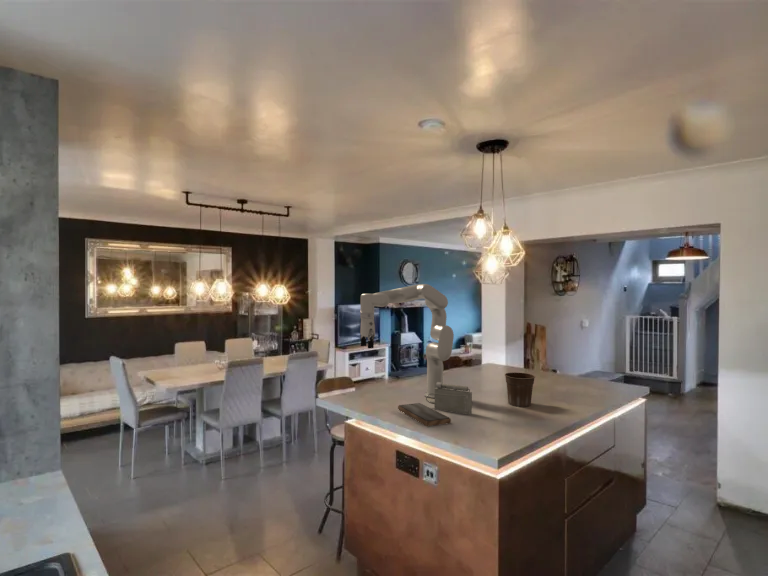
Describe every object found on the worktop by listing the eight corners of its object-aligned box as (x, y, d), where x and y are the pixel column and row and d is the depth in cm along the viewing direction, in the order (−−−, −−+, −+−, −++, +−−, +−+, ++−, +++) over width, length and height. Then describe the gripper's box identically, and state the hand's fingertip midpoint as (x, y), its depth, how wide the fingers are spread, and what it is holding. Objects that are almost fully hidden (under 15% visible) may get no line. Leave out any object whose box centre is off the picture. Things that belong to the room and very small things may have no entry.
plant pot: (536, 409, 233) (537, 378, 233) (505, 407, 237) (505, 377, 237) (532, 401, 249) (533, 373, 249) (503, 399, 252) (503, 371, 253)
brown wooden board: (419, 407, 234) (420, 402, 234) (450, 423, 207) (450, 417, 207) (398, 409, 229) (398, 405, 229) (426, 426, 202) (426, 420, 202)
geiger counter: (473, 385, 225) (428, 380, 238) (469, 387, 220) (423, 382, 232) (472, 412, 225) (428, 405, 238) (468, 415, 219) (423, 408, 232)
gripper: (380, 316, 235) (379, 348, 235) (367, 315, 251) (366, 344, 251) (367, 317, 232) (367, 349, 232) (355, 315, 248) (354, 345, 248)
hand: (367, 347), depth 241 cm, fingers open, 9 cm apart
